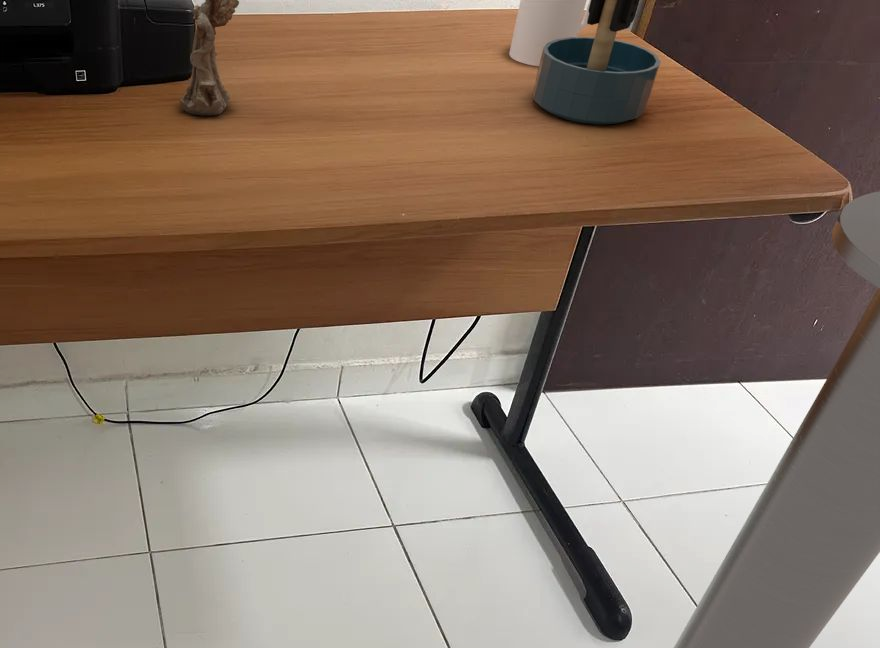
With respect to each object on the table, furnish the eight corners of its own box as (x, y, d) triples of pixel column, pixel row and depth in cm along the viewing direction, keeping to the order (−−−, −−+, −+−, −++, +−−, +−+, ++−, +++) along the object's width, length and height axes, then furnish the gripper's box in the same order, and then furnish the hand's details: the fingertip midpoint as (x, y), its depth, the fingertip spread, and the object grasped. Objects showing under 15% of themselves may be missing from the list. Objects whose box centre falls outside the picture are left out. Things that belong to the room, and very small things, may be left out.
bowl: (663, 125, 104) (681, 71, 100) (558, 129, 102) (572, 74, 98) (612, 86, 113) (627, 35, 109) (515, 89, 112) (526, 38, 108)
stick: (600, 104, 107) (637, -27, 97) (582, 105, 107) (618, -27, 97) (591, 97, 108) (627, -32, 99) (574, 98, 108) (609, -32, 99)
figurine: (189, 94, 108) (187, -47, 98) (238, 98, 107) (241, -43, 97) (176, 117, 103) (173, -30, 92) (228, 121, 102) (230, -26, 92)
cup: (604, 57, 122) (627, -25, 115) (538, 70, 117) (558, -15, 110) (561, 40, 127) (581, -40, 120) (496, 52, 122) (513, -31, 116)
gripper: (758, -165, 87) (689, 38, 99) (616, -185, 96) (569, 3, 108) (718, -159, 83) (651, 51, 96) (574, -181, 92) (530, 14, 105)
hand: (608, 24), depth 102 cm, fingers closed on stick, 2 cm apart
